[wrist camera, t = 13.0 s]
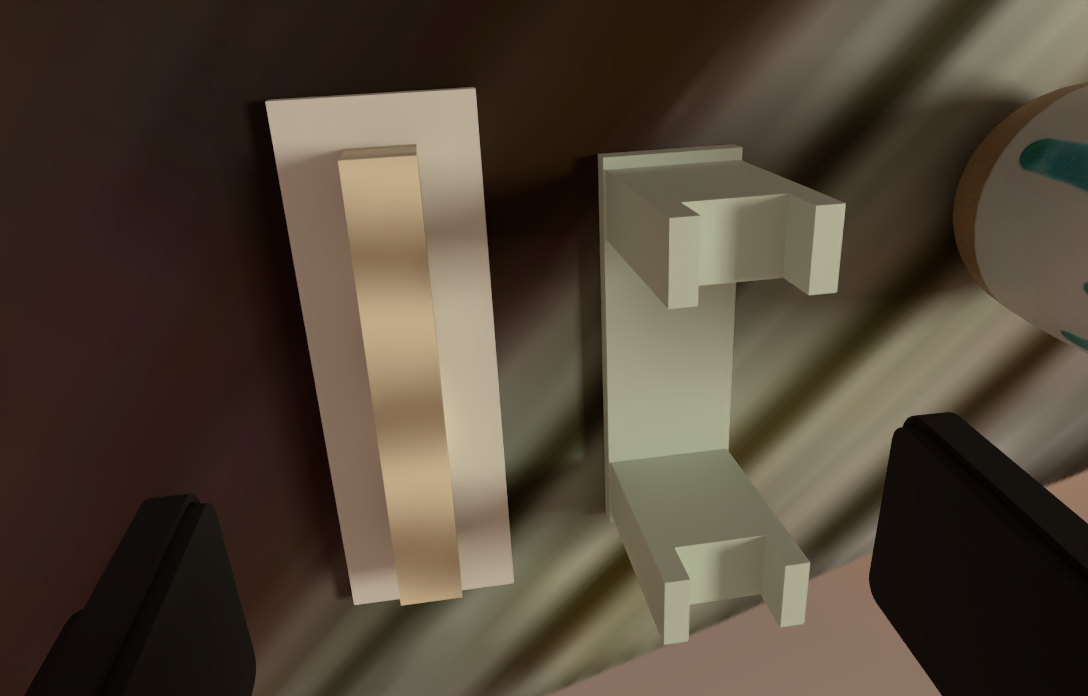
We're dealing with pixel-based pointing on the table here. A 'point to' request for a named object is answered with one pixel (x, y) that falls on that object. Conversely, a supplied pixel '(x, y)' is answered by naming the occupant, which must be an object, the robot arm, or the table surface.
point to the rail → (403, 364)
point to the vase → (1032, 214)
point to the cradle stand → (696, 368)
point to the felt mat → (459, 310)
